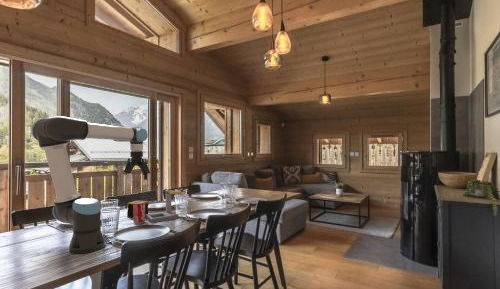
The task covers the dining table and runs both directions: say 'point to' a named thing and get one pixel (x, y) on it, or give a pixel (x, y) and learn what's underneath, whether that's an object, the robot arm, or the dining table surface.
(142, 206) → the soda can
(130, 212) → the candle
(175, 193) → the clip
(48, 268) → the dining table surface
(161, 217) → the gray post stand
